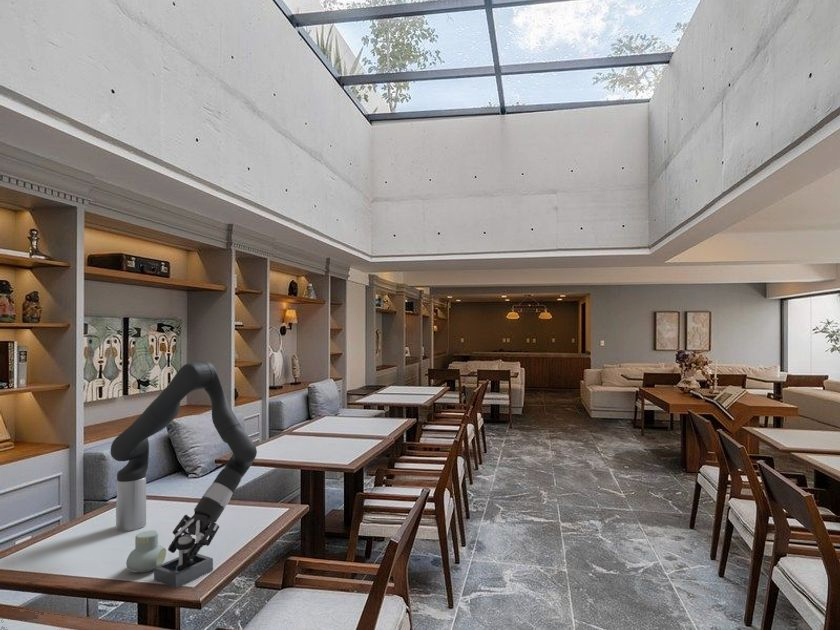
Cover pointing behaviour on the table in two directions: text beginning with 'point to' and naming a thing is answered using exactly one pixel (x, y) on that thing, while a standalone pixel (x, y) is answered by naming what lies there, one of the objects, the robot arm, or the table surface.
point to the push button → (184, 552)
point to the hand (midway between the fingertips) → (179, 554)
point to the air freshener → (146, 552)
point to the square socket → (182, 571)
